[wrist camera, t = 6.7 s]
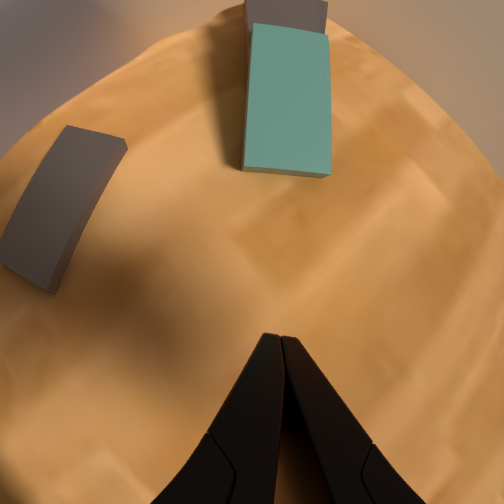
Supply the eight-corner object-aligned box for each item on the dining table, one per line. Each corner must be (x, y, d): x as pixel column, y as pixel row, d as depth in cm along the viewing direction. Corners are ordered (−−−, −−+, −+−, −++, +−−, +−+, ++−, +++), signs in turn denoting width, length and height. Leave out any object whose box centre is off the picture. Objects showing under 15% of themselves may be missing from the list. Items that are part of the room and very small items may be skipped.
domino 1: (59, 296, 15) (46, 290, 14) (6, 265, 15) (-7, 258, 14) (129, 153, 18) (124, 138, 17) (74, 138, 18) (66, 125, 17)
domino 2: (328, 110, 19) (310, 0, 18) (253, 108, 18) (245, -5, 17) (320, 117, 20) (304, 10, 19) (250, 115, 20) (243, 6, 19)
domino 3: (330, 174, 17) (328, 35, 16) (244, 166, 17) (253, 23, 16) (321, 178, 19) (320, 46, 18) (241, 171, 18) (250, 35, 17)
